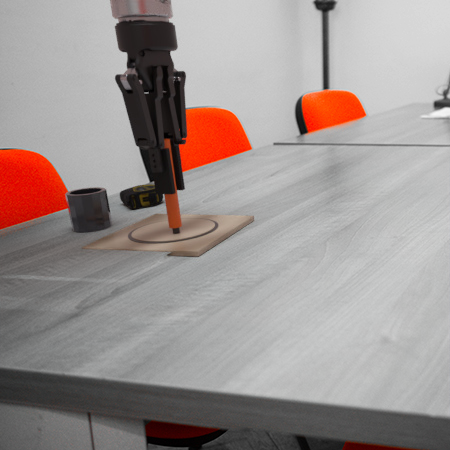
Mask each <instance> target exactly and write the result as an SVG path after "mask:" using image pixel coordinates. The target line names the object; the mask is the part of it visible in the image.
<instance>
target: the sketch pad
mask: <svg viewBox="0 0 450 450" xmlns="http://www.w3.org/2000/svg"><path fill="white" fill-rule="evenodd" d="M180 215H181V222H182V226H181V227H179V229H180V233H178V234H173V230H172V228H169V223H168V216H167V213H154V214H152V215H150V216H148V217H145V218H143V219H141V220H139V221H136V222H135V223H132V224H130V225H127V226H125V227H124V228H121V229H119V230H117V231H115V232H112V233H110V234H107V235H105V236H103V237H101V238H99V239H97V240H95V241H91V242H90V243H88V244H86V245H83V246H82V247H81V250H99V251H100V250H102V251H103V250H104V251H130V252H131V251H133V252H158V253H159V252H160V253H161V252H162V253H167V254H166V256H171V257H172V256H174V257H197V258H199V257H200V256H202V255H203V254H205V253H207V252H208V251H209V250H210V249H212V248H214V247H215V246H217V245H218V244H220V243H221V242H223V241H225V240H226V239H228V238H230V237H231V236H233V235H234V234H236V233H237V232H238V231H240V230H242V229H243V228H245V227H246V226H248V225H249V224H251V223H252V222H254V221H255V216H254V215H238V214H237V215H236V214H235V215H232V214H191V213H190V214H187V213H186V214H184V213H180Z"/></svg>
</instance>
